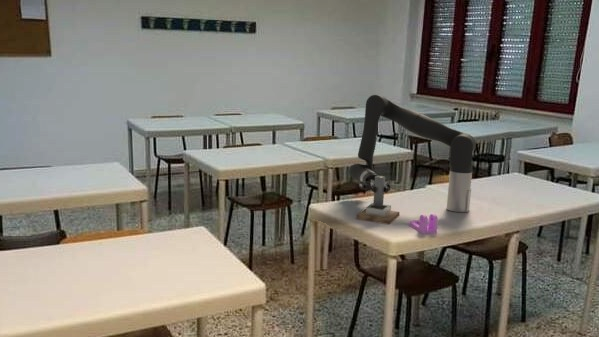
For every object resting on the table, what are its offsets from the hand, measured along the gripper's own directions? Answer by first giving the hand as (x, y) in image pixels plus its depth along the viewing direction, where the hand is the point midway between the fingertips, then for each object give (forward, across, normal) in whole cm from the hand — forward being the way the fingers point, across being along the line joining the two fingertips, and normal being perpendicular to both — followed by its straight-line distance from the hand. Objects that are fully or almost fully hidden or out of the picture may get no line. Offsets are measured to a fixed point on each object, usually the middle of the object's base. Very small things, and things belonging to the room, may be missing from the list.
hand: (381, 190), depth 218 cm
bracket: (+12, +13, +12) cm, 22 cm away
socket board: (-3, 0, +12) cm, 12 cm away
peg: (-3, 0, +7) cm, 8 cm away
